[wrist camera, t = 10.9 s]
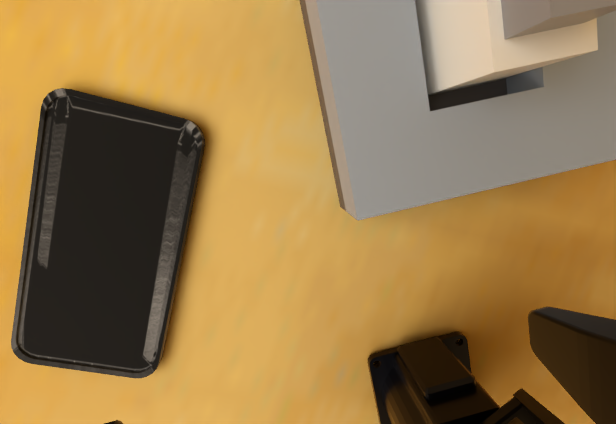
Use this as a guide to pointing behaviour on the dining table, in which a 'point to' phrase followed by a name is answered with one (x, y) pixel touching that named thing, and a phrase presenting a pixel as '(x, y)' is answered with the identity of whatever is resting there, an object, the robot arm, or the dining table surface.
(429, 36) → the plug
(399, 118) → the port
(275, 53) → the dining table surface
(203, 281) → the dining table surface
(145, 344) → the phone
